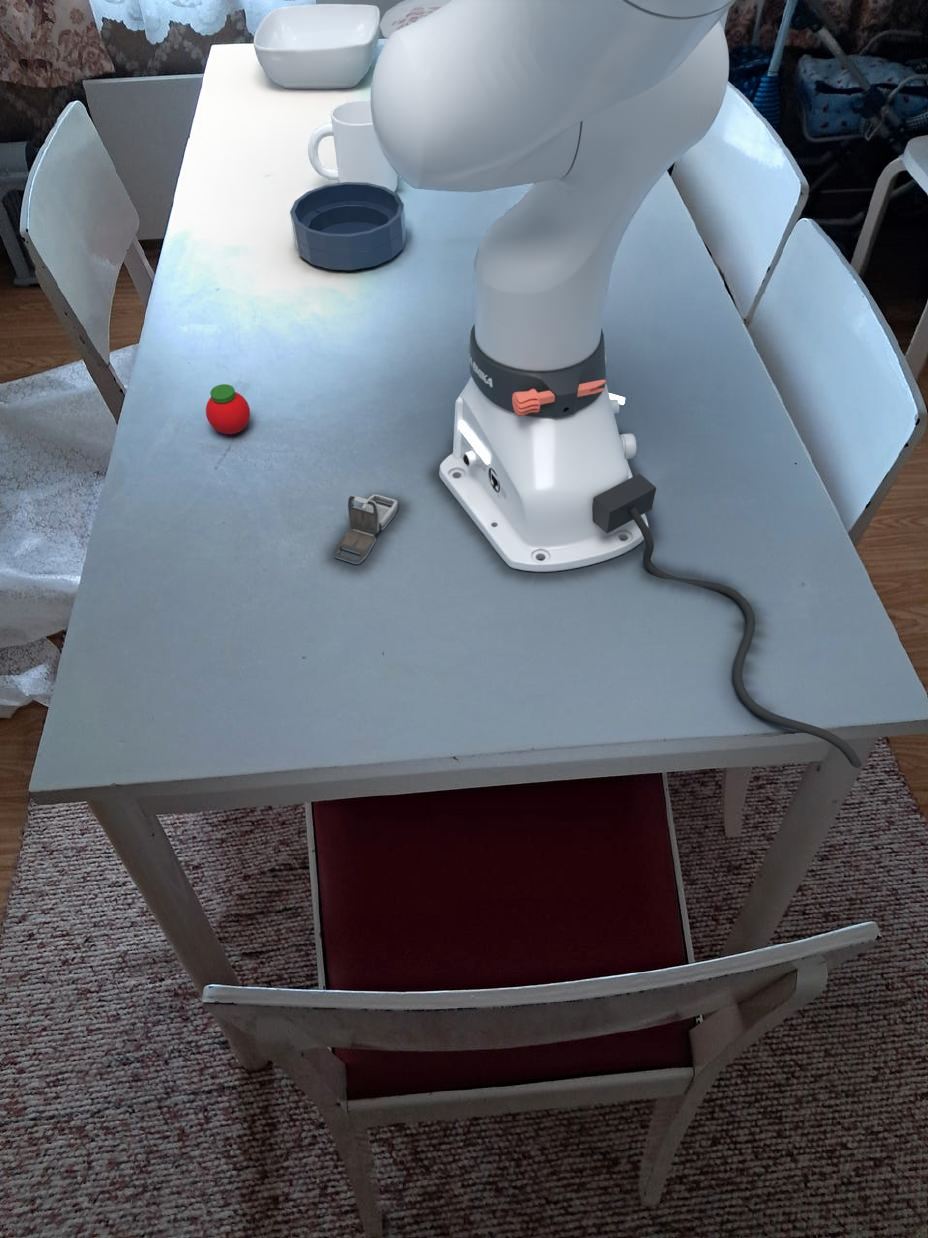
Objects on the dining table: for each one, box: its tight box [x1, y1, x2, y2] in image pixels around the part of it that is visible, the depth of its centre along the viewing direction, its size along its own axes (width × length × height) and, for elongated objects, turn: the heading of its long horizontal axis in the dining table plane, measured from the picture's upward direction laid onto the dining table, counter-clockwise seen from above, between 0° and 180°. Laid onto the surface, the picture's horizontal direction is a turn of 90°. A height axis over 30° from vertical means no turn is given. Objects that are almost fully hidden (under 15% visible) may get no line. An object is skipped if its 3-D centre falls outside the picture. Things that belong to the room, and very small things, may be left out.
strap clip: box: [332, 493, 399, 565], centre depth 80 cm, size 8×3×4 cm, turn 157°
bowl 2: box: [289, 182, 407, 271], centre depth 112 cm, size 14×14×5 cm
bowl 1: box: [253, 3, 381, 90], centre depth 148 cm, size 20×20×8 cm
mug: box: [307, 99, 398, 193], centre depth 120 cm, size 12×8×10 cm
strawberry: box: [205, 383, 251, 435], centre depth 89 cm, size 4×4×5 cm
